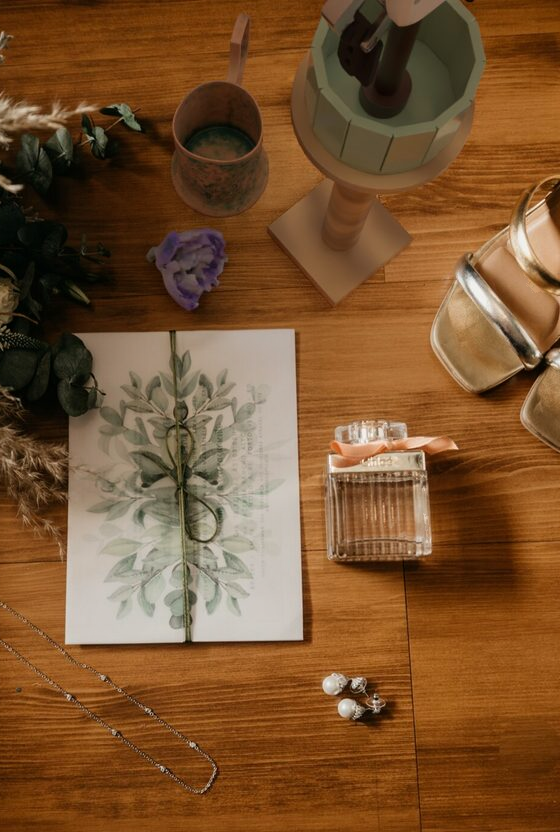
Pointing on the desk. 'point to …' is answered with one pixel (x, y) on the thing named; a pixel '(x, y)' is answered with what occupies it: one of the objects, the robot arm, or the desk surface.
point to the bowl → (428, 102)
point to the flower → (190, 263)
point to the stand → (348, 209)
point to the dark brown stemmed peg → (391, 74)
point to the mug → (221, 140)
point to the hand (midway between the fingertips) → (406, 28)
